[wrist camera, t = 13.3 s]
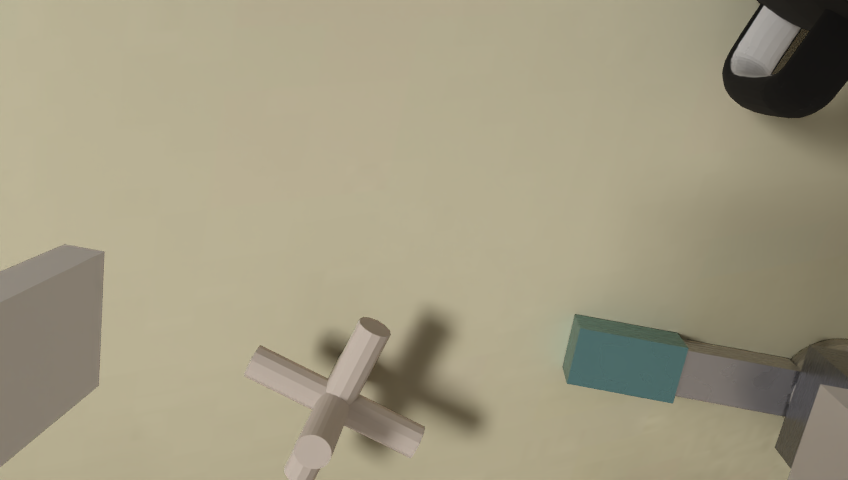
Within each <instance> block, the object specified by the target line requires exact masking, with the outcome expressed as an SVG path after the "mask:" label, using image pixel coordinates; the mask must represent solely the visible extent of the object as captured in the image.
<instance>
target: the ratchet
mask: <svg viewBox="0 0 848 480" xmlns="http://www.w3.org/2000/svg"><path fill="white" fill-rule="evenodd" d="M812 345H815V346H820V347H826V348H831V349H836V350H842V351H847V352H848V339H829V340H824V341H820V342H817V343H814V344H812ZM808 348H809V346H808V347H806V348H804V349H803V350H801V351H800V352H798V353H797V354H796V355H795V356H794V357H793V358H792V359H791V360H790V359H789V358H783V357H778V356H772V355H767V354H762V353H756V352H751V351H745V350H740V349H734V348H729V347H724V346H718V345H713V344H707V343H702V342H696V341H691V340H686V339H682V338H681V337H680V336H679V334H678V333H675V332H669V331H664V330H658V329H653V328H647V327H642V326H636V325H631V324H626V323H620V322H615V321H609V320H604V319H598V318H593V317H588V316H582V315H577V314H575V317H574V321H573V325H572V329H571V334H570V338H569V342H568V346H567V350H566V355H565V359H564V363H563V370H564V374H565V378H566V382H567V384H572V385H578V386H583V387H588V388H594V389H599V390H604V391H610V392H615V393H620V394H626V395H631V396H636V397H641V398H647V399H652V400H657V401H663V402H668V403H673V401H674V398H675V396H679V397H684V398H689V399H695V400H700V401H705V402H711V403H716V404H721V405H727V406H732V407H737V408H742V409H748V410H753V411H758V412H764V413H769V414H774V415H780V416H783V418H784V419H785V416H786V413H787V410H788V407H789V404H790V401H791V398H792V395H793V392H794V389H795V386H796V383H797V380H798V377H799V374H800V372H801V369H802V366H803V363H804V360H805V357H806V354H807V351H808Z"/></svg>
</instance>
